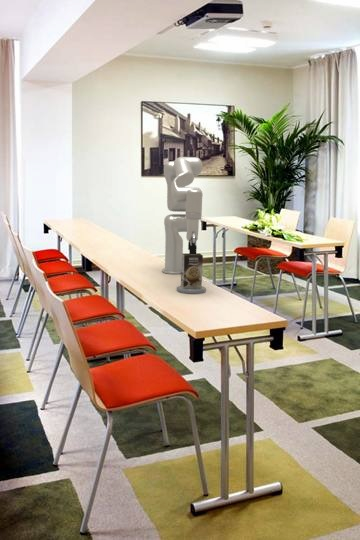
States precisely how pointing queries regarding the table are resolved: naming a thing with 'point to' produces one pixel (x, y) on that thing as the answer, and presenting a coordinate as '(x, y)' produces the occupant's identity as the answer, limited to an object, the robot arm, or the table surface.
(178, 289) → the dish
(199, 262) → the coffee box
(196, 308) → the table surface
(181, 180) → the robot arm
